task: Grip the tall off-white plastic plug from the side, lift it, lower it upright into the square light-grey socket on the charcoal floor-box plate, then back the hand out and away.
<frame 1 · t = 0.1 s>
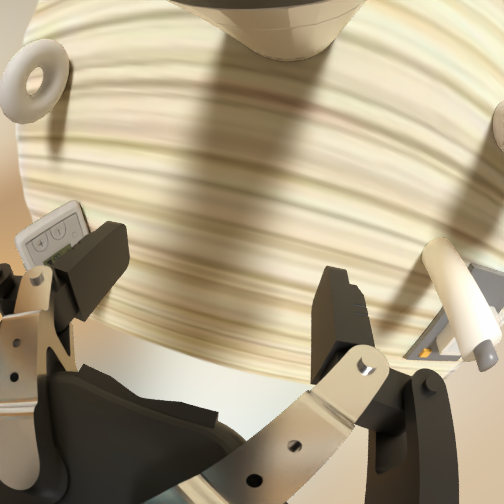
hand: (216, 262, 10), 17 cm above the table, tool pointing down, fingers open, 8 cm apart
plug: (437, 252, 27), on the table
floor socket: (464, 319, 32), on the table
digital thermostat: (85, 244, 36), on the table
donut: (66, 74, 21), on the table
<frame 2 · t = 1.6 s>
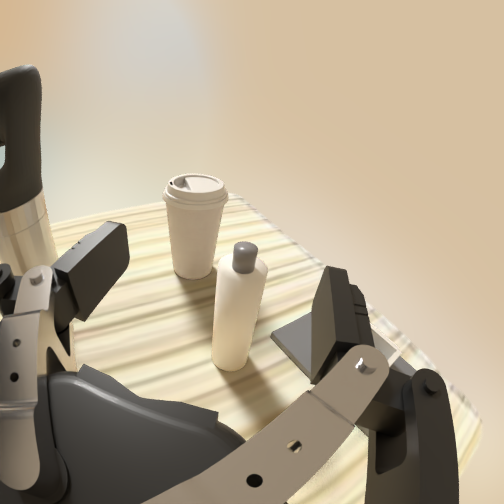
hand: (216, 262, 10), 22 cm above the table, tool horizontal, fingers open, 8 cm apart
coffee cup: (192, 268, 45), on the table
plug: (229, 356, 32), on the table
floor socket: (352, 364, 33), on the table
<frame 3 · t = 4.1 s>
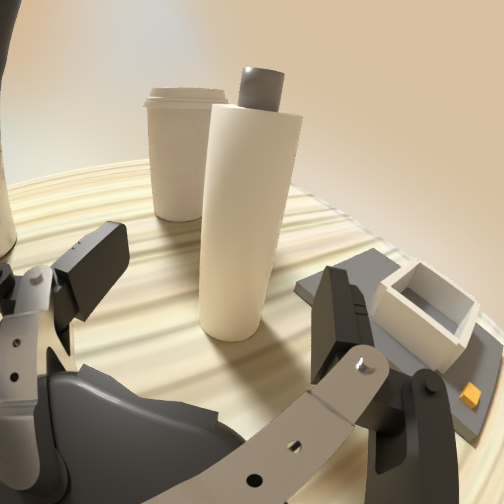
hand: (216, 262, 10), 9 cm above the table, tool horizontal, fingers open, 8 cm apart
coffee cup: (179, 211, 33), on the table
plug: (229, 318, 19), on the table
floor socket: (416, 329, 20), on the table
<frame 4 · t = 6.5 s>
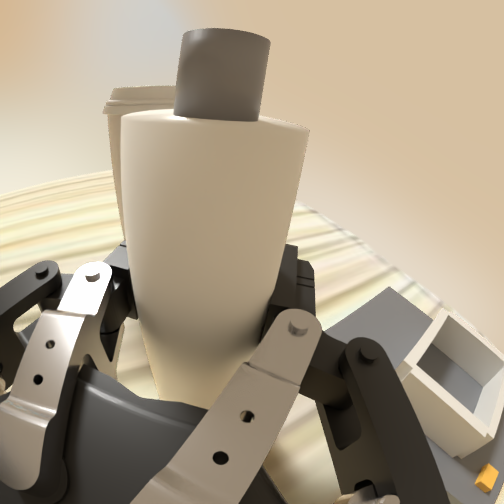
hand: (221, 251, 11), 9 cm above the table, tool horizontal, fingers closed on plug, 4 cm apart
coffee cup: (155, 238, 27), on the table
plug: (202, 404, 13), on the table, touching gripper
floor socket: (436, 397, 14), on the table
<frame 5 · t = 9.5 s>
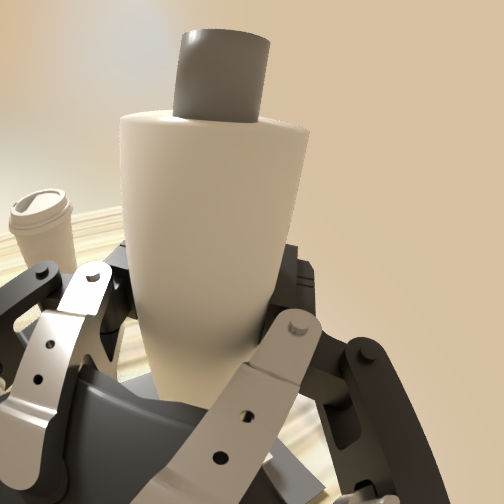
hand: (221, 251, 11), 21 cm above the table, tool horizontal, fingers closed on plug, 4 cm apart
coffee cup: (63, 295, 33), on the table
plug: (201, 405, 13), point 12 cm above the table, touching gripper
floor socket: (203, 451, 20), on the table
when the fingers open (10 cm above the table, at t = 12.5 s): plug stays where it is, resting on floor socket.
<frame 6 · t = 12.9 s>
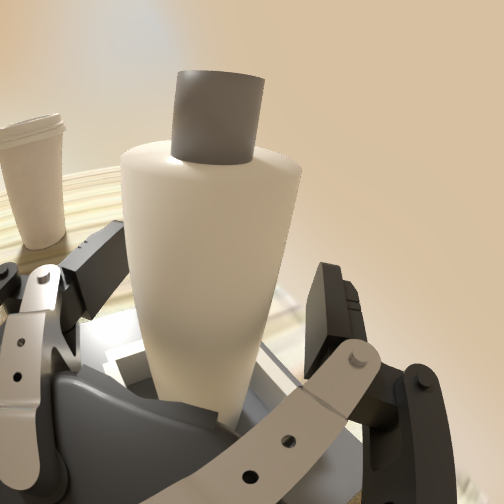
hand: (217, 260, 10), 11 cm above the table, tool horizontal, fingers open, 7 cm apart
coffee cup: (44, 237, 27), on the table
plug: (201, 412, 14), point 1 cm above the table, touching floor socket
floor socket: (201, 416, 14), on the table
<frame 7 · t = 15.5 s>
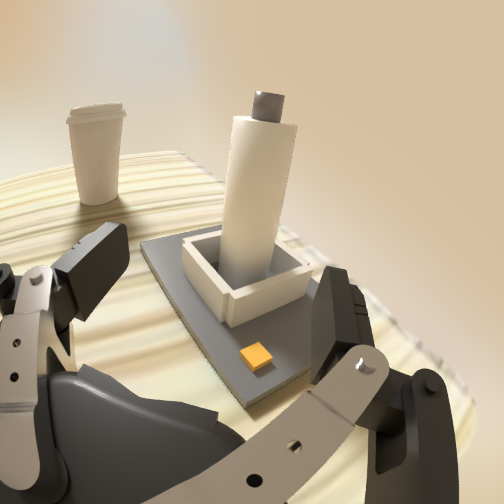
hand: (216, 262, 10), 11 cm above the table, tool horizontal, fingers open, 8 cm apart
coffee cup: (98, 198, 38), on the table
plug: (241, 281, 25), point 1 cm above the table, touching floor socket
floor socket: (240, 289, 25), on the table
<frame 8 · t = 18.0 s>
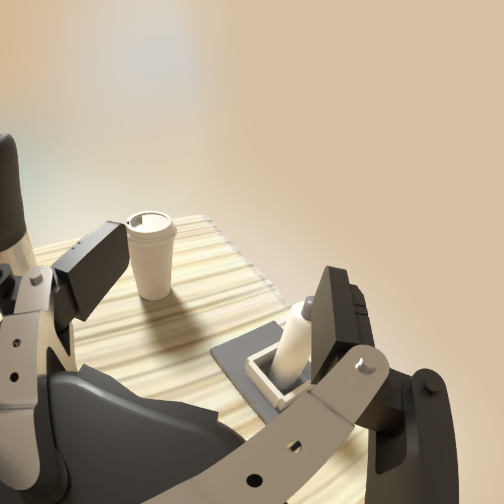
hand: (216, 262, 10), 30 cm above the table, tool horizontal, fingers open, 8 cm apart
coffee cup: (154, 290, 51), on the table
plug: (282, 377, 37), point 1 cm above the table, touching floor socket
floor socket: (280, 380, 38), on the table
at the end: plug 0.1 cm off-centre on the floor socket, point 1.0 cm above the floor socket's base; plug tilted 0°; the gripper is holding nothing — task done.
